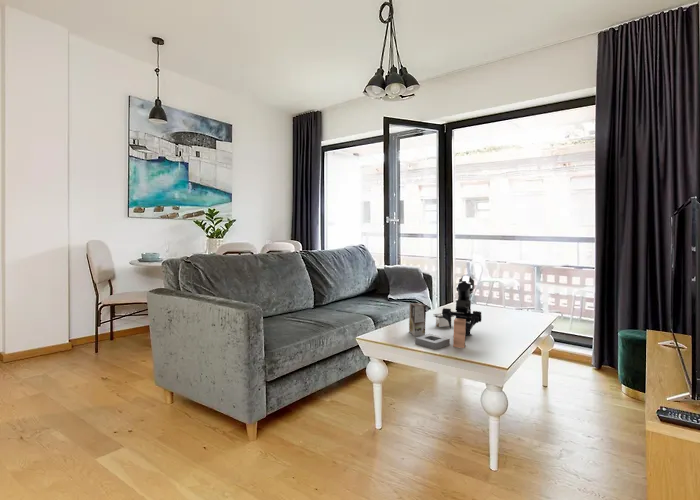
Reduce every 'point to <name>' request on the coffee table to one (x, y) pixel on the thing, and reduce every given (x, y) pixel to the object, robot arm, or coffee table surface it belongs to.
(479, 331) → the coffee table surface
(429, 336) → the socket block
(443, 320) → the architectural model
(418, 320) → the coffee box
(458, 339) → the peg
